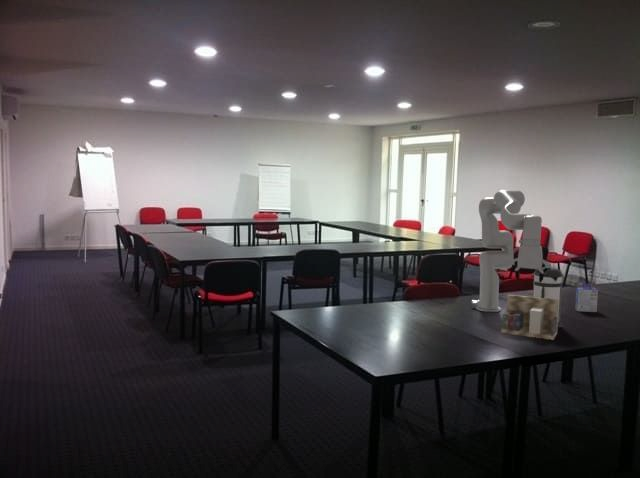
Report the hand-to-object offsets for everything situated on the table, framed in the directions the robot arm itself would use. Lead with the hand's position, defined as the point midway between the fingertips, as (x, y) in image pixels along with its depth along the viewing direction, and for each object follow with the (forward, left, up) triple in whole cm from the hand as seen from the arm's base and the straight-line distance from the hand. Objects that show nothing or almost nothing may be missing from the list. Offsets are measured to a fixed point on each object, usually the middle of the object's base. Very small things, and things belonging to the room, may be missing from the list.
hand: (529, 280), depth 245 cm
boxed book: (+4, -2, -22) cm, 23 cm away
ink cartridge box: (+19, +60, -24) cm, 68 cm away
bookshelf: (+1, -2, -24) cm, 24 cm away
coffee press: (+4, +19, -24) cm, 31 cm away
